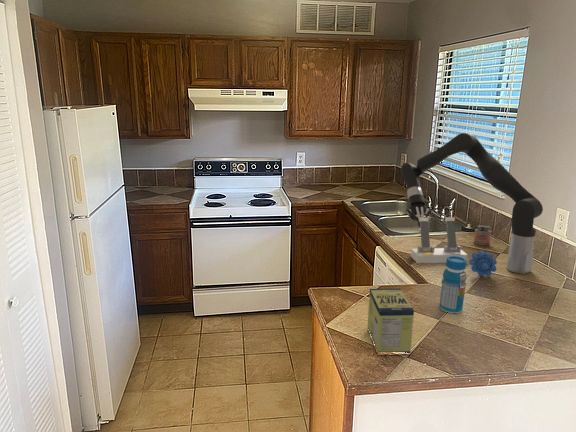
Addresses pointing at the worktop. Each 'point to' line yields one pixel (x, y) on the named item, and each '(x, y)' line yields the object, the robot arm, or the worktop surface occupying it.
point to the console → (436, 254)
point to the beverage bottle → (453, 285)
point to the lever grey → (451, 233)
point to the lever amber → (424, 234)
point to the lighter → (482, 235)
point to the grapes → (483, 263)
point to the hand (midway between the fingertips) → (422, 227)
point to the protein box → (390, 320)
